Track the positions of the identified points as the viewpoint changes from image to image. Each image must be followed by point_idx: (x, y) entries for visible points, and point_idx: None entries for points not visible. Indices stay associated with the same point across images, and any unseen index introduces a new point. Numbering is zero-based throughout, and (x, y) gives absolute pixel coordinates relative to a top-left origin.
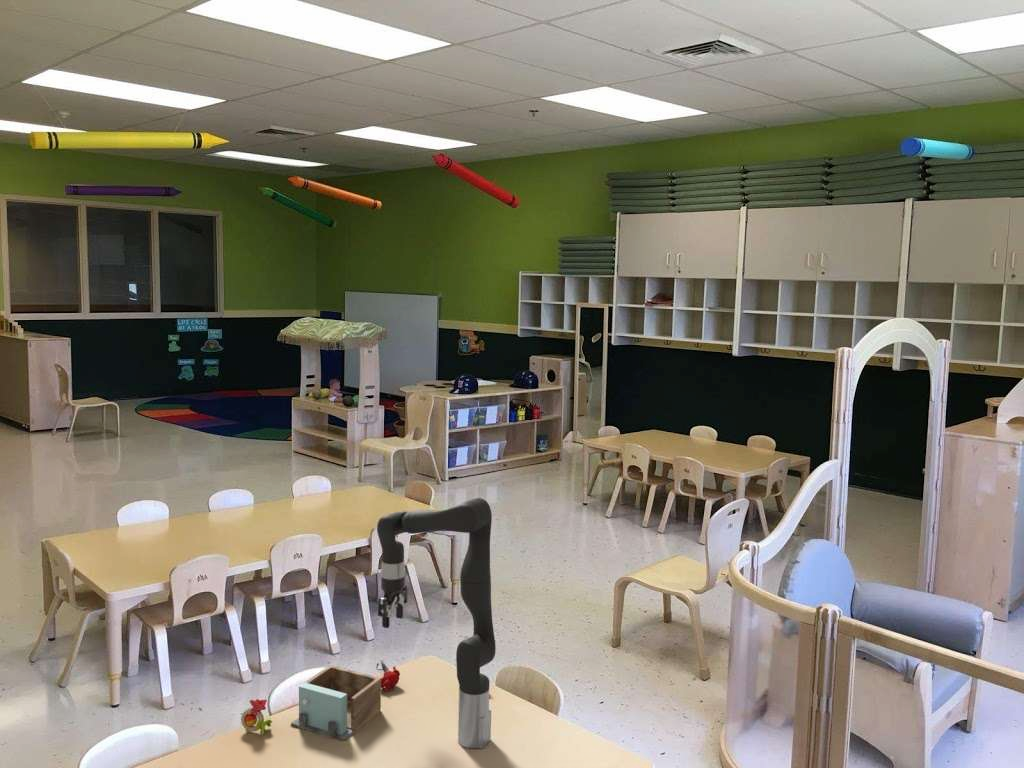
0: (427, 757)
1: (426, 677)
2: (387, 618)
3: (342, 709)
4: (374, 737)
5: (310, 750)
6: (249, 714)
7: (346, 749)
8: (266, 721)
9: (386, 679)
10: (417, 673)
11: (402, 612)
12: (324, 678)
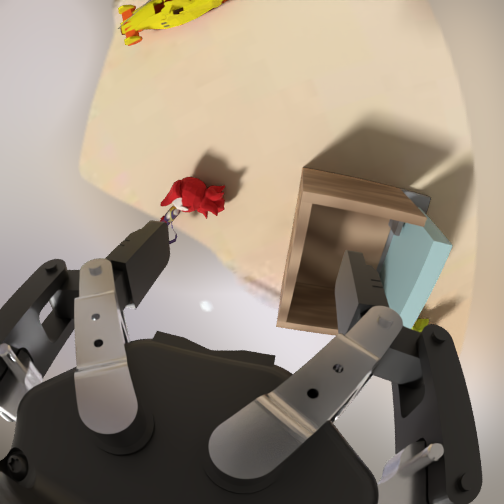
0: (434, 27)
1: (134, 139)
2: (373, 304)
3: (436, 229)
4: (406, 142)
5: (456, 239)
6: None
7: (450, 182)
8: (415, 330)
9: (208, 199)
10: (129, 164)
11: (140, 239)
12: (310, 314)
